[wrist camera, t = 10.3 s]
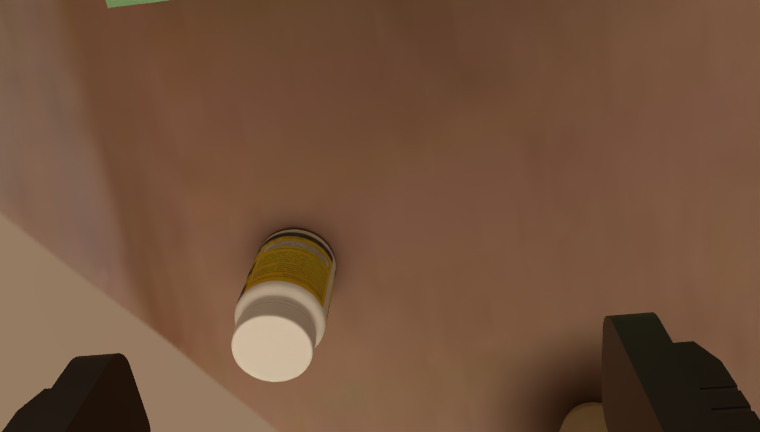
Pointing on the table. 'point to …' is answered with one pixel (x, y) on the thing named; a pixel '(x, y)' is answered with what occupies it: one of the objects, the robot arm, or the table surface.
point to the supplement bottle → (284, 306)
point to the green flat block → (128, 2)
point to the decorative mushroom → (585, 419)
